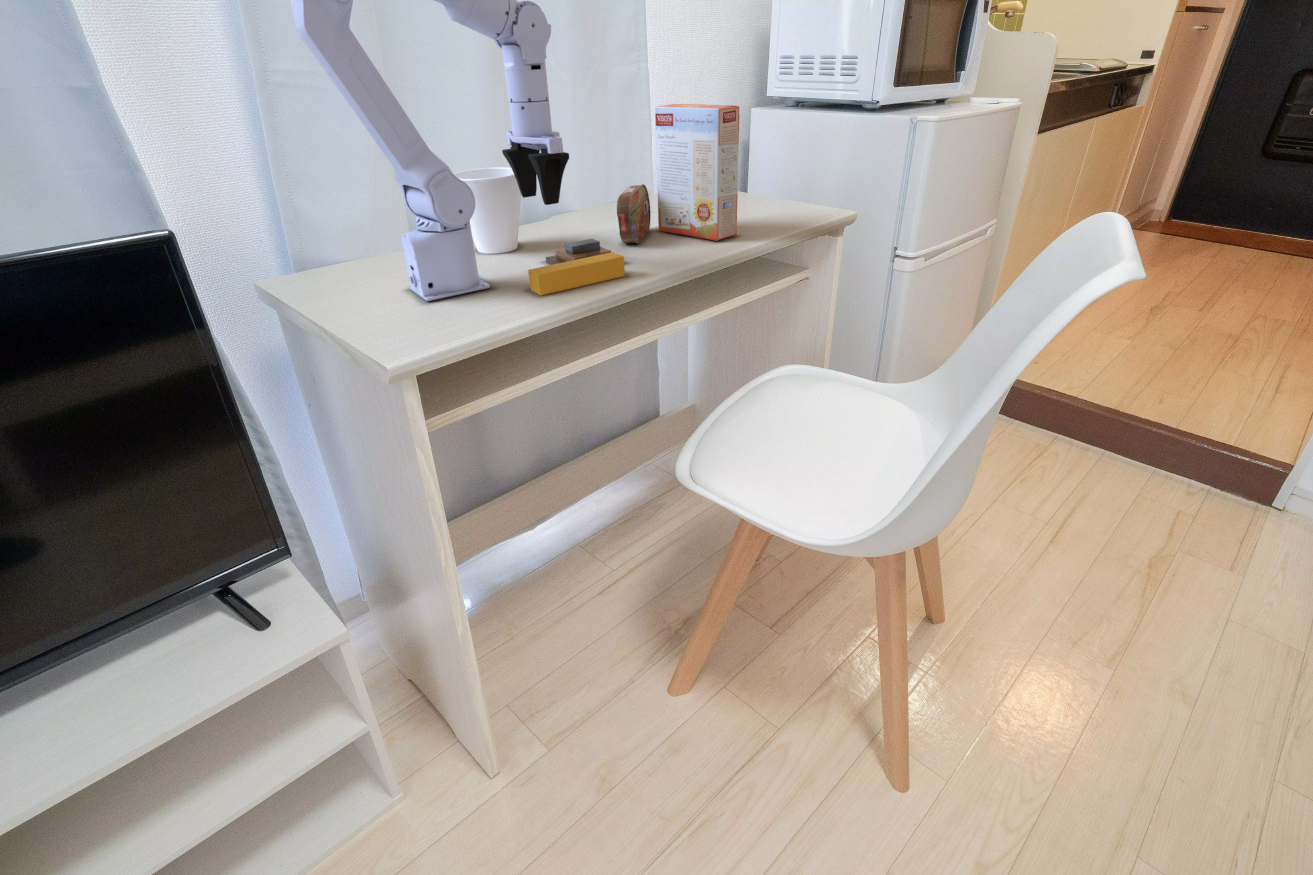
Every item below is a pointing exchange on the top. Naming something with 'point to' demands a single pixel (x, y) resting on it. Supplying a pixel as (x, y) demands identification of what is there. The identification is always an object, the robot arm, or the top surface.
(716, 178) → the cracker box
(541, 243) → the top surface
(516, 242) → the cup
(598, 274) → the bar
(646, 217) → the tin
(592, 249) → the brown stepped stand
